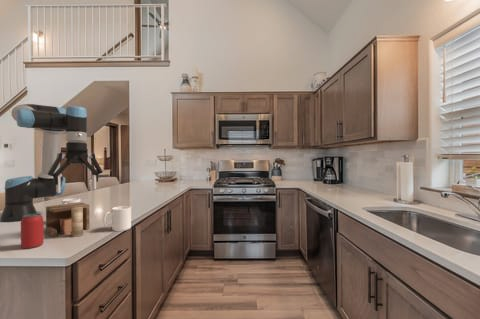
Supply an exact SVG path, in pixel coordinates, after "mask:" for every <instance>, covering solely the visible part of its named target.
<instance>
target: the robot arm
mask: <svg viewBox="0 0 480 319" xmlns="http://www.w3.org/2000/svg"><path fill="white" fill-rule="evenodd" d="M11 117H12V119H13V120H14V121H15V122H16V124H17V126H18V127H20V128H25V129H39V130H40V131H41V132H42V145H41V146H42V149H41V151H42V152H41V172H40V173H38V174H37V177H36V178H34V177H33V176H32V175H26V176H20V177H13V178H9V179H7V180H5V181H4V188H3V189H4V208H3V211H2V213H1V214H0V222H3V223H5V222H8V223H9V222H21V220H22V218H23V216H24V215H28V214H38V211H37V210H36V208H35V205H34V199H39V198H40V199H41V198H42V199H43V198H51V197H52V198H54V197H60V196H61V195H63V193H65V189H66V177H64V176H63V174H62V173H63V171H65V170H66V169H67V167H69V166H70V165H71V164H73V165H74V164H83V165H84V166H85V167H86V168H87V169H89V171H90V172H91V173H92V174H91V189H92V190H97V183H98V182H99V175H100V174H102V173H103V170H102V168H101V166H100V164H99V163H98V160H97V158H96V155H95V153H88V143H87V140H88V138H87V137H88V135H87V133H88V132H87V131H88V128H87V125H88V124H87V123H88V122H87V121H88V120H87V119H88V118H87V117H88V114H87V109H86V108H85V107H83V106H78V105H68V106H66V108H63V107H59V106H54V105H53V106H51V105H43V104H42V105H41V104H35V103H34V104H33V103H26V104H24V103H23V104H19V105H16V106H15V107H13V108H12V109H11ZM64 133H66V134H65V140H66V142H65V143H66V144H65V145H66V147H65V150H66V151H65V153H63V152H61V151H62V150H61V149H62V134H64ZM64 158H66V160H65V161H64V163H63V164H62V165H61V161H62V159H64ZM88 158H89V159H90V161H91V162H92V164H91V163H90V162H89V161H88V160H87V159H88Z"/></svg>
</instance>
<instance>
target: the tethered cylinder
mask: <svg viewBox="0 0 480 319" xmlns="http://www.w3.org/2000/svg"><path fill="white" fill-rule="evenodd" d="M59 232H60V233H61V234H63V235H68V234H71V238H78V237H82V236H83V235H84V228H83V207H76V208H72V209H71V217H69V218H63V219H60V230H59Z"/></svg>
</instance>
